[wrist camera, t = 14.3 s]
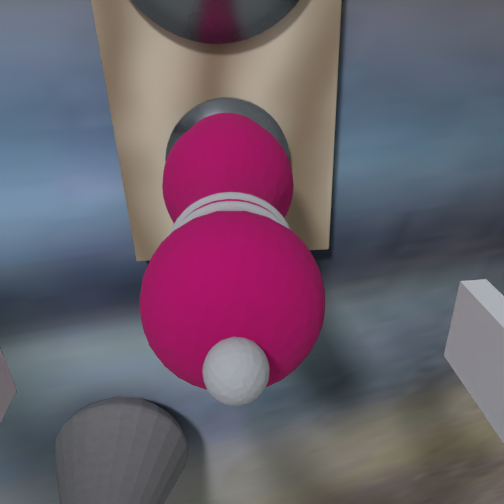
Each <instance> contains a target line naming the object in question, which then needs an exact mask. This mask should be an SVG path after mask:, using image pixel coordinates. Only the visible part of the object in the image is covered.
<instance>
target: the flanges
mask: <svg viewBox="0 0 504 504" xmlns="http://www.w3.org/2000/svg"><path fill="white" fill-rule="evenodd" d="M131 1H132V2H133V3H134V4H135V5H136V6H137V8H138V9H139V10H140V11H141V12H142V13H144V14H145V15H146V16H147V17H148V18H149V19H151V20H152V21H153V22H154V23H156V24H157V25H159V26H161V27H162V28H164V29H165V30H167V31H169V32H171V33H173V34H175V35H177V36H179V37H182V38H185V39H188V40H191V41H195V42H201V43H207V44H225V43H234V42H238V41H242V40H246V39H249V38H251V37H254V36H256V35H259V34H261V33H263V32H264V31H266V30H268V29H269V28H271V27H273V26H274V25H275V24H276V23H278V22H279V21H280V20H281V19H283V18H284V17H285V16H286V15H287V14H288V13H289V12H290V11H291V10H292V9H293V8H294V7H295V6H296V4H297V3H298V2H299V0H131Z"/></svg>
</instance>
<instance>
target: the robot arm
mask: <svg viewBox="0 0 504 504" xmlns="http://www.w3.org/2000/svg"><path fill="white" fill-rule="evenodd" d="M444 356H445V358H446V359H447V361H448V362H449V364H450V365H451V367H452V368H453V370H454V371H455V373H456V374H457V375H458V377H459V378H460V380H461V381H462V383H463V384H464V386H465V387H466V389H467V390H468V392H469V393H470V395H471V396H472V397H473V399H474V400H475V402H476V403H477V405H478V406H479V408H480V409H481V411H482V412H483V414H484V415H485V417H486V418H487V419H488V421H489V422H490V424H491V425H492V427H493V428H494V430H495V431H496V433H497V434H498V436H499V437H500V439H501V440H502V441H503V443H504V296H503V295H502V294H501V293H500V292H499V291H498V290H497V289H496V288H495V287H494V286H493V285H492V284H491V283H489V282H488V281H487V280H486V279H483V280H469V281H460V285H459V289H458V294H457V298H456V303H455V307H454V312H453V316H452V321H451V325H450V330H449V334H448V339H447V344H446V348H445V353H444ZM16 392H17V390H16V388H15V385H14V382H13V380H12V377H11V375H10V372H9V369H8V367H7V364H6V362H5V359H4V356H3V354H2V351H1V349H0V423H1V421H2V419H3V417H4V415H5V413H6V411H7V409H8V407H9V405H10V403H11V401H12V399H13V397H14V396H15V394H16Z"/></svg>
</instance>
